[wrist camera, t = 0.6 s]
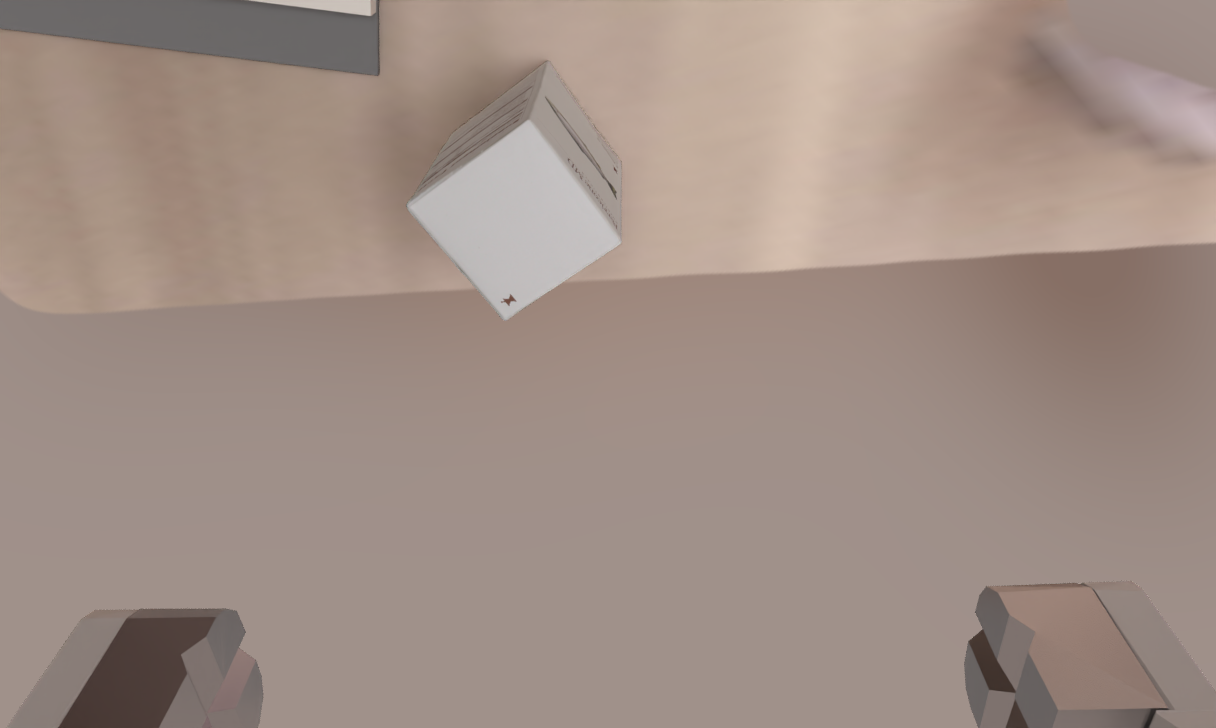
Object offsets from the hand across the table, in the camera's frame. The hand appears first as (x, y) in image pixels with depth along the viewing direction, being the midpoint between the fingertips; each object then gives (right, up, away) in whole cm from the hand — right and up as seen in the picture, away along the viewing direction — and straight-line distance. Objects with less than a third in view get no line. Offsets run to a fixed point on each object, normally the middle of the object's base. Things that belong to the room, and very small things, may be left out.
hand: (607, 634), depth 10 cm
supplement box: (-4, +16, +41) cm, 45 cm away
